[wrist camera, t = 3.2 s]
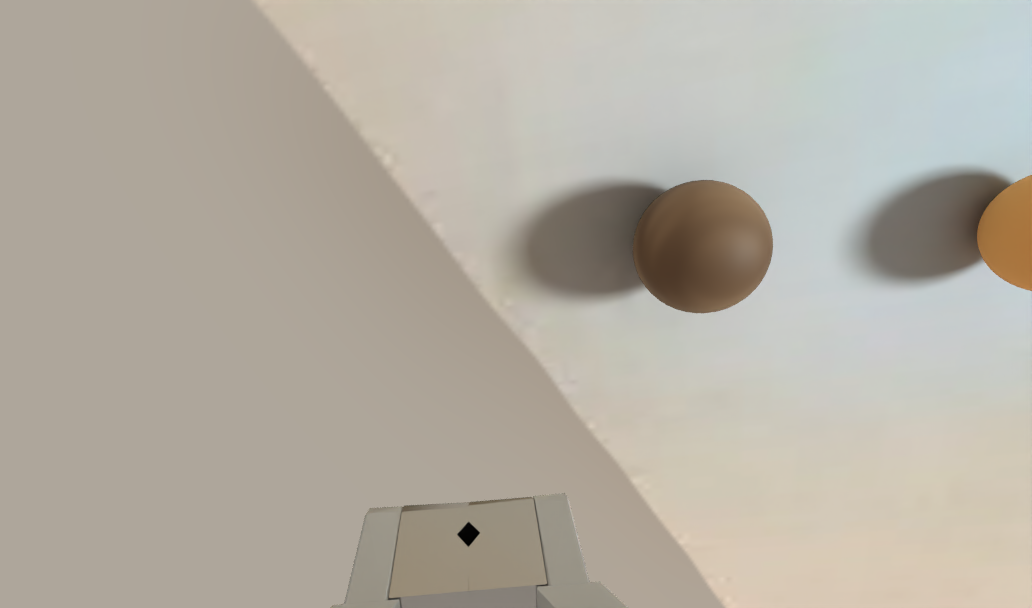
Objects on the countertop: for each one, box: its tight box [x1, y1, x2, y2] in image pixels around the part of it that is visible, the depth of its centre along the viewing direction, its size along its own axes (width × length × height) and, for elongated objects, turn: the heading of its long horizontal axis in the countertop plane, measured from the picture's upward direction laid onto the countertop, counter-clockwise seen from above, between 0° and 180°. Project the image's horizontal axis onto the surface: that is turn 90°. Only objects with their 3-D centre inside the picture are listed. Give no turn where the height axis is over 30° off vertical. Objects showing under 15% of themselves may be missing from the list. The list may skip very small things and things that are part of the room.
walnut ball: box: [633, 180, 773, 313], centre depth 22 cm, size 5×5×5 cm
